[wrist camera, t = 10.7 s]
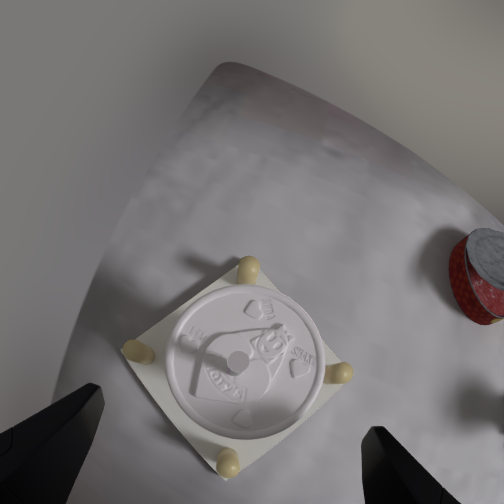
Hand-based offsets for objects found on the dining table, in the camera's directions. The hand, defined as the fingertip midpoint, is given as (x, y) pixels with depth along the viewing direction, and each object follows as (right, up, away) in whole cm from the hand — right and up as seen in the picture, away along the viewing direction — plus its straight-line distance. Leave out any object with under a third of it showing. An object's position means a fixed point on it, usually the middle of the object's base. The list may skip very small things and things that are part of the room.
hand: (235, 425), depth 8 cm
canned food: (+25, +2, +17) cm, 30 cm away
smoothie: (0, -3, +12) cm, 12 cm away
